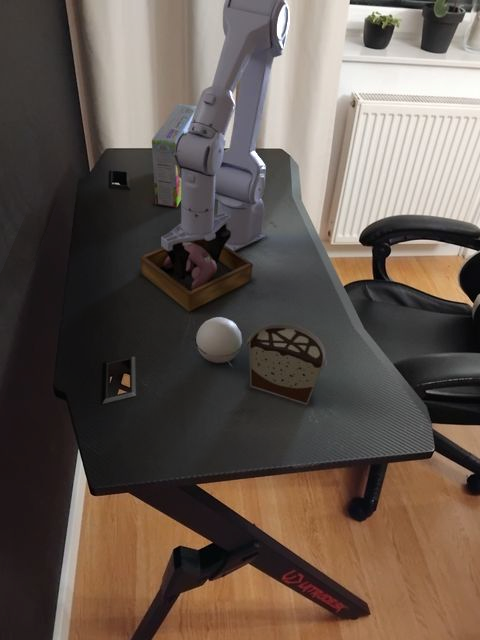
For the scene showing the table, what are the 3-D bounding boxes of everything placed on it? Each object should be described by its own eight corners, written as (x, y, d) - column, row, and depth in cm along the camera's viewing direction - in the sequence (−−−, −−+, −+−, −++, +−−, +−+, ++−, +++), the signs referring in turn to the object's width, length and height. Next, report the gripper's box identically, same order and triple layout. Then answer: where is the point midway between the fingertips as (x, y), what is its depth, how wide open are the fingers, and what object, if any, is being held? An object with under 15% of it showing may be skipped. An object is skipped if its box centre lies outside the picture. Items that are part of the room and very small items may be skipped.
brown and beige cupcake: (326, 381, 91) (337, 335, 84) (316, 408, 87) (327, 361, 80) (254, 359, 93) (260, 312, 86) (241, 384, 89) (245, 336, 82)
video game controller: (208, 294, 107) (225, 262, 105) (192, 292, 103) (209, 258, 101) (176, 268, 111) (191, 237, 109) (159, 265, 108) (175, 232, 105)
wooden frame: (203, 247, 116) (203, 230, 113) (251, 280, 109) (253, 263, 106) (141, 273, 107) (139, 256, 104) (189, 311, 100) (189, 294, 98)
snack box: (177, 164, 141) (176, 102, 131) (199, 167, 141) (200, 105, 131) (153, 205, 126) (150, 138, 116) (178, 209, 126) (177, 142, 115)
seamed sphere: (192, 342, 95) (193, 308, 90) (236, 340, 96) (239, 306, 91) (199, 386, 88) (200, 352, 83) (246, 383, 89) (250, 349, 84)
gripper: (179, 227, 91) (179, 294, 101) (244, 201, 100) (239, 265, 109) (152, 208, 95) (155, 275, 104) (217, 185, 103) (214, 249, 112)
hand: (196, 269), depth 107 cm, fingers open, 7 cm apart
